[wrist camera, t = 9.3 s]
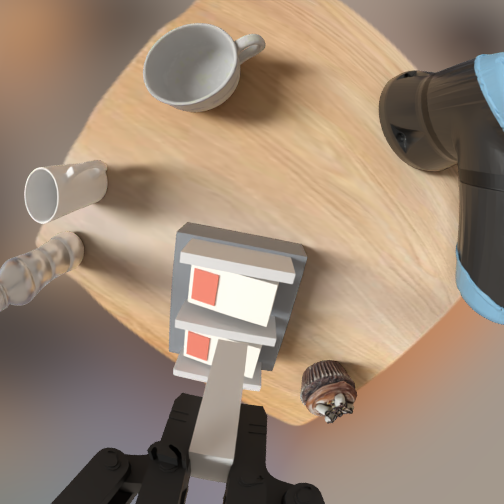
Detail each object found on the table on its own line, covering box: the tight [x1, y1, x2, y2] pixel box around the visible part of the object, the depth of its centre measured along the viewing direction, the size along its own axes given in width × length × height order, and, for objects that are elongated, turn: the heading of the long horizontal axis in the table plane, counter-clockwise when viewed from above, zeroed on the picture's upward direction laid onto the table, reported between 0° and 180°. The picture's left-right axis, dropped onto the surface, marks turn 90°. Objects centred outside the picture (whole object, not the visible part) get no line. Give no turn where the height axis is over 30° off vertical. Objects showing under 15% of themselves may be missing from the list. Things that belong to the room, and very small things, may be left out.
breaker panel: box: [169, 222, 307, 391], centre depth 35 cm, size 16×19×10 cm
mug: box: [25, 160, 108, 224], centre depth 29 cm, size 10×7×12 cm, turn 115°
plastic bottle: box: [0, 231, 84, 311], centre depth 29 cm, size 6×7×20 cm
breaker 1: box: [188, 265, 279, 327], centre depth 31 cm, size 10×6×2 cm, turn 79°
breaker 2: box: [183, 330, 262, 378], centre depth 34 cm, size 10×6×2 cm, turn 79°
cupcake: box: [300, 360, 357, 423], centre depth 41 cm, size 10×10×10 cm
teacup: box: [143, 23, 265, 112], centre depth 26 cm, size 14×11×8 cm
